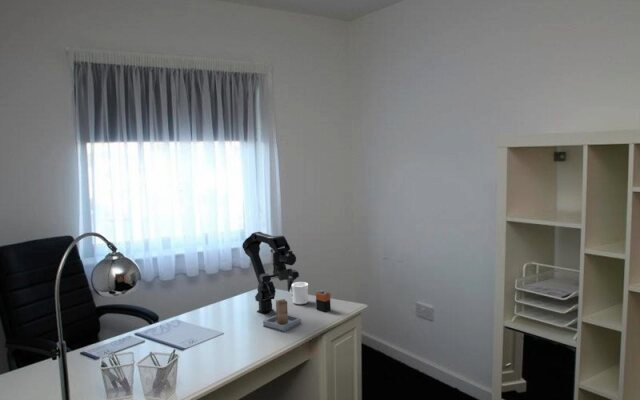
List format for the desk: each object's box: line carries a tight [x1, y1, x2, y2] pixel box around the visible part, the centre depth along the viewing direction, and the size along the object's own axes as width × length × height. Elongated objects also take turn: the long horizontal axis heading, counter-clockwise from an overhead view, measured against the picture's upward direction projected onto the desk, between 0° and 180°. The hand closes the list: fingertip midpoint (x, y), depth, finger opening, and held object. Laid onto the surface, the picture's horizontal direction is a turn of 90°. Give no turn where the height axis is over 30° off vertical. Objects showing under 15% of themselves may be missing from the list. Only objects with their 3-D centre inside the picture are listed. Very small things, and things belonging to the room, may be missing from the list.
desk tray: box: [262, 314, 302, 332], centre depth 224 cm, size 13×13×2 cm
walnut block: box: [275, 298, 289, 325], centre depth 223 cm, size 4×4×11 cm
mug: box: [289, 281, 309, 306], centre depth 254 cm, size 11×9×10 cm
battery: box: [315, 289, 331, 313], centre depth 242 cm, size 4×7×10 cm, turn 44°
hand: (279, 292), depth 231 cm, fingers open, 9 cm apart
